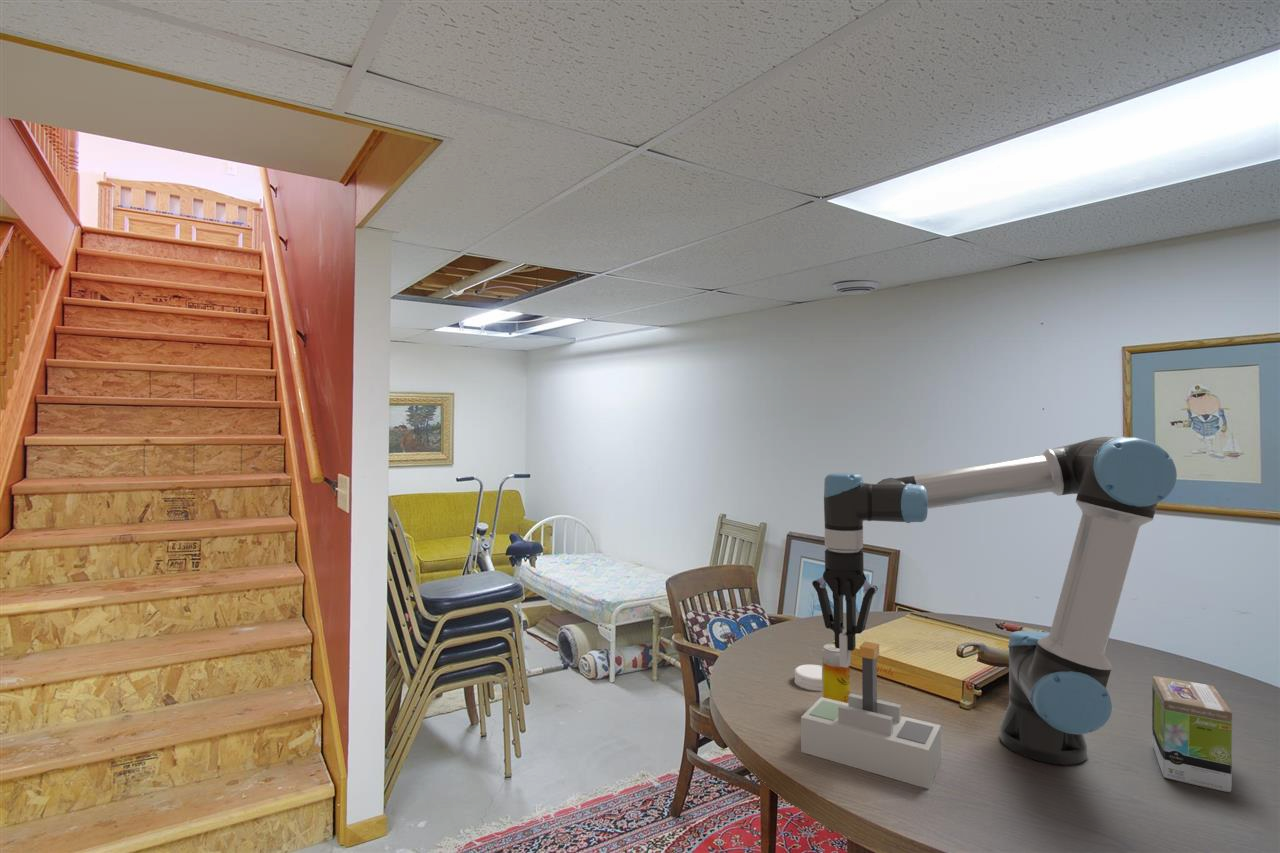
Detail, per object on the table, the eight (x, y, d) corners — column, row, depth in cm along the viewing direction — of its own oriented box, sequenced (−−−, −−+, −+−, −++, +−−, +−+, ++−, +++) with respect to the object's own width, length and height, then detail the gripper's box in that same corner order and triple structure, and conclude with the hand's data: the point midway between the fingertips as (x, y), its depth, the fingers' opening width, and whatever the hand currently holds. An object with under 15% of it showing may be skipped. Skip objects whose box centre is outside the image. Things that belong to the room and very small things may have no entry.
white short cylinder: (839, 682, 167) (839, 668, 167) (828, 695, 159) (828, 681, 159) (801, 674, 172) (801, 661, 172) (789, 686, 164) (789, 672, 164)
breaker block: (941, 761, 126) (940, 710, 126) (928, 789, 117) (928, 733, 117) (821, 729, 140) (820, 683, 140) (801, 751, 130) (800, 702, 130)
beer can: (851, 719, 145) (850, 652, 145) (823, 717, 146) (822, 651, 146) (848, 708, 151) (847, 644, 151) (821, 706, 152) (820, 642, 152)
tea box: (1234, 795, 114) (1233, 711, 115) (1162, 779, 120) (1161, 699, 120) (1215, 758, 127) (1214, 683, 127) (1150, 745, 133) (1150, 673, 133)
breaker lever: (879, 713, 129) (879, 643, 129) (874, 721, 126) (874, 649, 126) (865, 710, 131) (864, 641, 131) (859, 717, 128) (859, 646, 128)
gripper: (881, 549, 131) (883, 665, 131) (818, 543, 138) (820, 653, 138) (871, 555, 125) (873, 677, 124) (806, 548, 132) (807, 664, 132)
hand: (845, 664), depth 131 cm, fingers closed
